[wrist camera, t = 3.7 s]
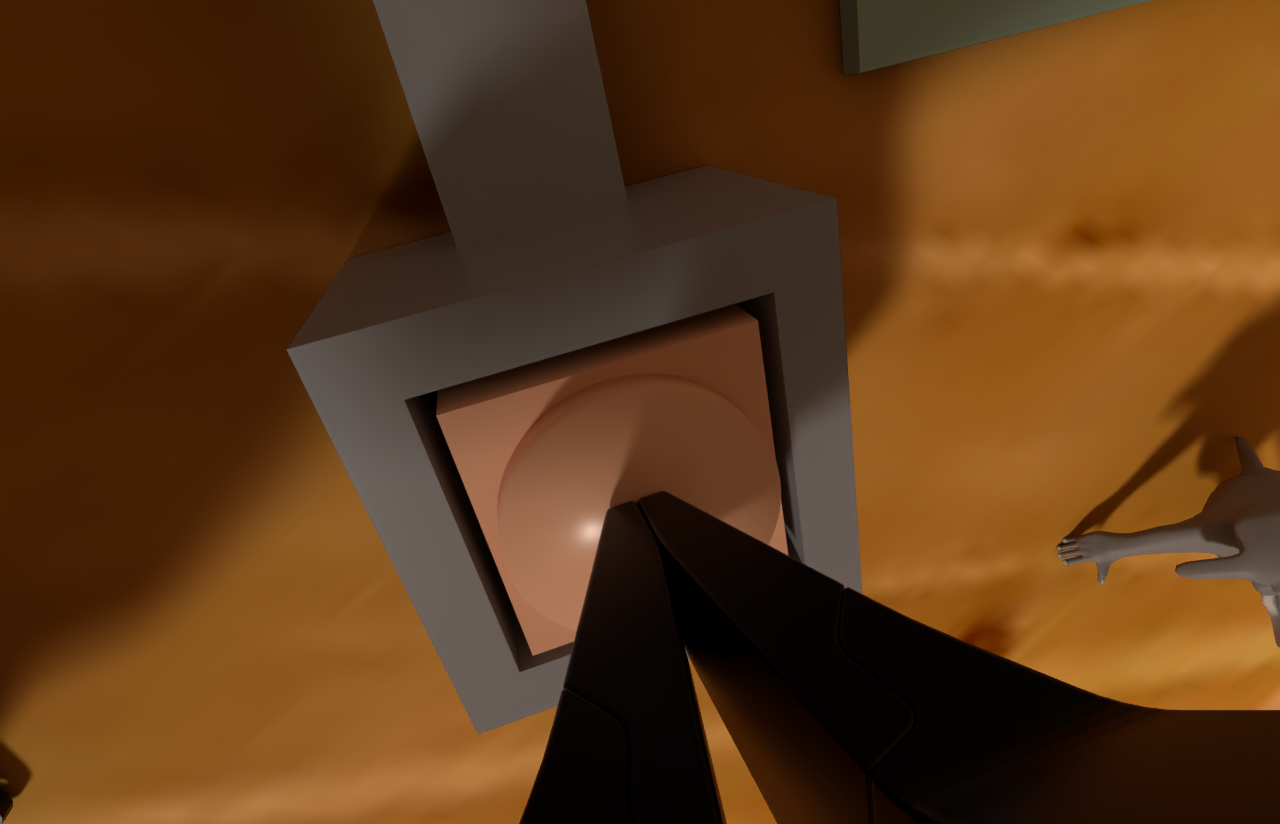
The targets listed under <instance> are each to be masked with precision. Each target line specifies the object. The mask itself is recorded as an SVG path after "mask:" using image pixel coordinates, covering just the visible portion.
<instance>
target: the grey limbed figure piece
mask: <svg viewBox="0 0 1280 824" xmlns="http://www.w3.org/2000/svg"><path fill="white" fill-rule="evenodd" d="M1236 446H1237V451H1238V456H1239V460H1240V464H1241V469H1242V473H1240V474H1239V475H1237V476H1236V477H1234V478H1232V479H1229V480H1227V481H1224V482H1221V483H1220V484H1219V485H1218V486H1217V488H1216V489H1215V490H1214V491H1213V492H1212V493H1211V494H1210V496H1209V498H1208V500H1207V502H1206V504H1205V506H1204V508H1203V510H1202V512H1201V513H1199V514H1197V515H1196V516H1194V517H1193V518H1191V519H1188V520H1185V521H1182V522H1179V523H1176V524H1171V525H1165V526H1159V527H1155V528H1151V529H1147V530H1143V531H1138V532H1134V533H1112V532H1106V531H1094V532H1090V533H1087V534H1083V535H1080V536H1076V537H1072V538H1065V539H1063V540H1062V542H1063V543H1070V544H1065V545H1060V546H1057V549H1058V551H1062V550H1066V549H1072V548H1078V549H1076V550H1069V551H1065V552H1061V553H1058V554H1057V555H1058V558H1059V559H1062V558H1065V557H1070V556H1079V557H1075V558H1070V559H1065V560H1063V565H1064V566H1069V565H1071V564H1076V563H1081V562H1090V561H1095V562H1096V564H1097V567H1098V581H1099V582H1100V583H1102V584H1104V583H1105V579H1104V578H1105V577H1106V576H1107V573H1108V570H1109V567H1110V565H1111V564H1112V563H1113V562H1114V561H1116V560H1118V559H1120V558H1123V557H1128V556H1135V555H1144V554H1157V553H1184V552H1201V553H1211V554H1215V555H1217V556H1218V557H1219V558H1214V559H1206V560H1198V561H1190V562H1185V563H1182V564H1179V565H1176V568H1175V572H1176V573H1177V574H1178V575H1179V576H1181V577H1185V578H1191V579H1243V580H1249V581H1252V583H1253V586H1254V587H1255V589H1256V590H1257V591H1258V592H1260V593H1261V598H1262V602H1263V604H1264V606H1265V607H1266V609H1267V610H1268V612H1269V614H1270V616H1271V620H1272V626H1273V631H1274V636H1275V641H1276V644H1277V646H1278V648H1279V649H1280V471H1276V470H1272V469H1269V468H1265V467H1263V465H1262V464H1261V462H1260V460H1259V459H1258V457H1257V455H1256V454H1255V452H1254V450H1253V449H1252V447H1251V446H1250V444H1249V443H1248V442H1247V440H1245V439H1244V438H1242V437H1237V438H1236ZM1071 542H1073V543H1071Z"/></svg>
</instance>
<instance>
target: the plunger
mask: <svg viewBox="0 0 1280 824" xmlns="http://www.w3.org/2000/svg"><path fill="white" fill-rule="evenodd" d="M436 417H437V419H438V421H439V424H440V426H441V429H442V431H443V434H444V436H445V439H446V441H447V444H448V446H449V449H450V451H451V454H452V456H453V459H454V461H455V464H456V466H457V469H458V471H459V474H460V476H461V479H462V481H463V484H464V486H465V488H466V491H467V493H468V496H469V498H470V501H471V503H472V506H473V508H474V511H475V513H476V516H477V518H478V521H479V523H480V526H481V528H482V531H483V533H484V536H485V538H486V541H487V543H488V546H489V548H490V551H491V553H492V556H493V558H494V560H495V563H496V565H497V568H498V570H499V573H500V575H501V578H502V580H503V583H504V585H505V588H506V590H507V593H508V595H509V598H510V600H511V603H512V605H513V608H514V610H515V613H516V615H517V618H518V620H519V623H520V625H521V627H522V630H523V632H524V635H525V637H526V640H527V642H528V645H529V647H530V650H531V652H532V655H533V656H534V655H537V654H540V653H543V652H545V651H548V650H551V649H554V648H557V647H560V646H563V645H565V644H568V643H571V642H574V639H575V635H576V631H577V627H578V623H579V619H580V615H581V611H582V607H583V603H584V599H585V595H586V591H587V587H588V583H589V579H590V575H591V571H592V567H593V563H594V559H595V555H596V551H597V547H598V543H599V539H600V535H601V531H602V527H603V523H604V519H605V515H606V512H607V510H608V509H609V508H610V507H614V506H617V505H620V504H623V503H626V502H629V501H635V502H636V503H637V501H638V499H639V498H641V497H644V496H647V495H650V494H653V493H656V492H659V491H666V492H668V493H670V494H672V495H674V496H676V497H678V498H680V499H682V500H684V501H686V502H688V503H689V504H691V505H693V506H695V507H697V508H699V509H701V510H703V511H705V512H707V513H708V514H710V515H712V516H714V517H716V518H718V519H720V520H722V521H724V522H726V523H727V524H729V525H731V526H733V527H735V528H737V529H739V530H741V531H743V532H745V533H746V534H748V535H750V536H752V537H754V538H756V539H758V540H760V541H762V542H764V543H765V544H767V545H769V546H771V547H773V548H775V549H777V550H779V551H781V552H783V553H784V554H786V555H788V549H787V541H786V534H785V526H784V518H783V511H782V503H781V482H780V476H779V471H778V466H777V463H776V456H775V449H774V441H773V433H772V426H771V418H770V410H769V402H768V395H767V387H766V379H765V371H764V364H763V356H762V348H761V341H760V333H759V325H758V320H757V319H755V318H754V317H753V316H751V315H750V314H748V313H747V312H746V311H744V310H743V309H742V308H740V307H739V306H737V305H736V304H732V305H729V306H725V307H722V308H718V309H715V310H711V311H708V312H705V313H701V314H698V315H694V316H691V317H687V318H684V319H681V320H677V321H674V322H670V323H667V324H663V325H660V326H656V327H653V328H650V329H646V330H643V331H639V332H636V333H632V334H629V335H626V336H622V337H619V338H615V339H612V340H608V341H605V342H602V343H598V344H595V345H591V346H588V347H584V348H581V349H578V350H574V351H571V352H567V353H564V354H560V355H557V356H553V357H550V358H547V359H543V360H540V361H536V362H533V363H529V364H526V365H523V366H519V367H516V368H512V369H509V370H505V371H502V372H499V373H495V374H492V375H488V376H485V377H481V378H478V379H475V380H471V381H468V382H464V383H461V384H457V385H454V386H450V387H447V388H444V389H440V390H438V394H437V410H436Z"/></svg>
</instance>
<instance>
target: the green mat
mask: <svg viewBox="0 0 1280 824" xmlns="http://www.w3.org/2000/svg"><path fill="white" fill-rule="evenodd" d="M1147 1H1151V0H840V17H841V36H842V54H843V73H844V74H854V73H863V72H867V71H871V70H875V69H879V68H883V67H887V66H891V65H895V64H899V63H903V62H907V61H911V60H915V59H919V58H923V57H927V56H931V55H935V54H939V53H943V52H947V51H951V50H955V49H959V48H963V47H967V46H971V45H975V44H979V43H983V42H987V41H991V40H995V39H999V38H1003V37H1007V36H1011V35H1015V34H1019V33H1023V32H1027V31H1031V30H1035V29H1039V28H1043V27H1047V26H1051V25H1055V24H1059V23H1063V22H1067V21H1071V20H1075V19H1079V18H1083V17H1087V16H1091V15H1095V14H1099V13H1103V12H1107V11H1111V10H1115V9H1119V8H1123V7H1127V6H1131V5H1135V4H1139V3H1143V2H1147Z"/></svg>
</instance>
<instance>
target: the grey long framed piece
mask: <svg viewBox="0 0 1280 824" xmlns="http://www.w3.org/2000/svg"><path fill="white" fill-rule="evenodd" d="M373 3H374V6H375V9H376V12H377V14H378V17H379V20H380V23H381V26H382V29H383V32H384V35H385V38H386V41H387V44H388V47H389V50H390V53H391V56H392V59H393V62H394V65H395V68H396V70H397V73H398V76H399V79H400V82H401V85H402V88H403V91H404V94H405V97H406V100H407V103H408V106H409V109H410V112H411V115H412V118H413V121H414V123H415V126H416V129H417V132H418V135H419V138H420V141H421V144H422V147H423V150H424V153H425V156H426V159H427V162H428V165H429V168H430V171H431V174H432V177H433V179H434V182H435V185H436V188H437V191H438V194H439V197H440V200H441V203H442V206H443V209H444V212H445V215H446V218H447V221H448V224H449V227H450V230H451V232H449V233H445V234H441V235H438V236H434V237H430V238H426V239H422V240H418V241H415V242H411V243H407V244H403V245H399V246H395V247H392V248H388V249H384V250H380V251H376V252H372V253H369V254H365V255H361V256H357V257H353V258H349V259H348V260H347V261H346V263H345V264H344V266H343V267H342V269H341V270H340V272H339V273H338V275H337V276H336V277H335V279H334V280H333V282H332V283H331V285H330V286H329V288H328V289H327V291H326V292H325V294H324V295H323V297H322V298H321V300H320V301H319V302H318V304H317V305H316V307H315V308H314V310H313V311H312V313H311V314H310V316H309V317H308V319H307V320H306V322H305V323H304V325H303V326H302V327H301V329H300V330H299V332H298V333H297V335H296V336H295V338H294V339H293V341H292V342H291V344H290V345H289V347H288V348H287V352H288V354H289V356H290V358H291V360H292V362H293V364H294V366H295V368H296V370H297V372H298V374H299V376H300V378H301V380H302V382H303V384H304V386H305V388H306V390H307V392H308V394H309V396H310V398H311V400H312V402H313V404H314V406H315V408H316V410H317V412H318V414H319V416H320V418H321V420H322V422H323V424H324V426H325V428H326V430H327V432H328V434H329V436H330V438H331V440H332V442H333V444H334V446H335V448H336V450H337V452H338V454H339V456H340V458H341V460H342V462H343V464H344V466H345V468H346V470H347V472H348V474H349V476H350V478H351V480H352V482H353V484H354V486H355V488H356V490H357V492H358V494H359V496H360V498H361V500H362V502H363V504H364V506H365V508H366V510H367V512H368V514H369V516H370V518H371V520H372V522H373V524H374V526H375V528H376V530H377V532H378V534H379V536H380V538H381V540H382V542H383V544H384V546H385V548H386V550H387V552H388V554H389V557H390V559H391V561H392V563H393V565H394V567H395V569H396V571H397V573H398V575H399V577H400V579H401V581H402V583H403V585H404V587H405V589H406V591H407V593H408V595H409V597H410V599H411V601H412V603H413V605H414V607H415V609H416V611H417V613H418V615H419V617H420V619H421V621H422V623H423V625H424V627H425V629H426V631H427V633H428V635H429V637H430V639H431V641H432V643H433V645H434V647H435V649H436V651H437V653H438V655H439V657H440V659H441V661H442V663H443V665H444V667H445V669H446V671H447V673H448V675H449V677H450V679H451V681H452V683H453V685H454V687H455V689H456V691H457V693H458V695H459V697H460V699H461V701H462V703H463V705H464V707H465V709H466V711H467V713H468V715H469V717H470V719H471V721H472V723H473V725H474V727H475V729H476V731H477V733H478V734H480V733H483V732H486V731H489V730H491V729H494V728H497V727H500V726H502V725H505V724H508V723H511V722H513V721H516V720H519V719H522V718H525V717H527V716H530V715H533V714H536V713H538V712H541V711H544V710H547V709H549V708H552V707H555V706H558V703H559V699H560V695H561V692H562V690H564V689H563V684H564V680H565V676H566V672H567V668H568V664H569V660H570V656H571V652H572V648H573V644H574V642H571V643H568V644H565V645H563V646H560V647H557V648H554V649H551V650H548V651H545V652H543V653H540V654H537V655H534V656H533V655H532V652H531V650H530V647H529V645H528V642H527V640H526V637H525V635H524V632H523V630H522V627H521V625H520V623H519V620H518V618H517V615H516V613H515V610H514V608H513V605H512V603H511V600H510V598H509V595H508V593H507V590H506V588H505V585H504V583H503V580H502V578H501V575H500V573H499V570H498V568H497V565H496V563H495V560H494V558H493V556H492V553H491V551H490V548H489V546H488V543H487V541H486V538H485V536H484V533H483V531H482V528H481V526H480V523H479V521H478V518H477V516H476V513H475V511H474V508H473V506H472V503H471V501H470V498H469V496H468V493H467V491H466V488H465V486H464V484H463V481H462V479H461V476H460V474H459V471H458V469H457V466H456V464H455V461H454V459H453V456H452V454H451V451H450V449H449V446H448V444H447V441H446V439H445V436H444V434H443V431H442V429H441V426H440V424H439V421H438V419H437V417H436V410H437V394H438V390H440V389H444V388H447V387H450V386H454V385H457V384H461V383H464V382H468V381H471V380H475V379H478V378H481V377H485V376H488V375H492V374H495V373H499V372H502V371H505V370H509V369H512V368H516V367H519V366H523V365H526V364H529V363H533V362H536V361H540V360H543V359H547V358H550V357H553V356H557V355H560V354H564V353H567V352H571V351H574V350H578V349H581V348H584V347H588V346H591V345H595V344H598V343H602V342H605V341H608V340H612V339H615V338H619V337H622V336H626V335H629V334H632V333H636V332H639V331H643V330H646V329H650V328H653V327H656V326H660V325H663V324H667V323H670V322H674V321H677V320H681V319H684V318H687V317H691V316H694V315H698V314H701V313H705V312H708V311H711V310H715V309H718V308H722V307H725V306H729V305H732V304H736V305H737V306H739V307H740V308H742V309H743V310H744V311H746V312H747V313H748V314H750V315H751V316H753V317H754V318H755V319H757V320H758V325H759V333H760V341H761V348H762V356H763V364H764V371H765V379H766V387H767V395H768V402H769V410H770V418H771V426H772V433H773V441H774V449H775V456H776V463H777V466H778V471H779V476H780V482H781V503H782V511H783V518H784V526H785V534H786V541H787V549H788V556H790V557H792V558H794V559H796V560H798V561H800V562H802V563H803V564H805V565H807V566H809V567H811V568H813V569H815V570H817V571H819V572H821V573H822V574H824V575H826V576H828V577H830V578H832V579H834V580H836V581H838V582H840V583H841V584H843V585H844V587H845V588H846V587H849V588H852V589H853V590H855V591H857V592H859V593H861V594H862V584H861V569H860V553H859V537H858V521H857V506H856V490H855V474H854V458H853V443H852V427H851V411H850V395H849V380H848V364H847V348H846V332H845V316H844V301H843V285H842V269H841V253H840V238H839V222H838V206H837V198H834V197H830V196H826V195H822V194H819V193H815V192H811V191H807V190H803V189H799V188H795V187H791V186H787V185H783V184H779V183H775V182H772V181H768V180H764V179H760V178H756V177H752V176H748V175H744V174H740V173H736V172H732V171H728V170H725V169H721V168H717V167H713V166H709V165H706V166H702V167H698V168H694V169H691V170H687V171H683V172H679V173H675V174H671V175H668V176H664V177H660V178H656V179H652V180H648V181H645V182H641V183H637V184H633V185H629V186H625V185H624V180H623V175H622V171H621V166H620V161H619V156H618V152H617V147H616V142H615V137H614V132H613V128H612V123H611V118H610V113H609V109H608V104H607V99H606V94H605V89H604V85H603V80H602V75H601V70H600V66H599V61H598V56H597V51H596V46H595V42H594V37H593V32H592V27H591V23H590V18H589V13H588V8H587V3H586V0H373ZM686 653H687V651H686ZM687 657H688V658H690V657H689V655H688V653H687Z"/></svg>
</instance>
